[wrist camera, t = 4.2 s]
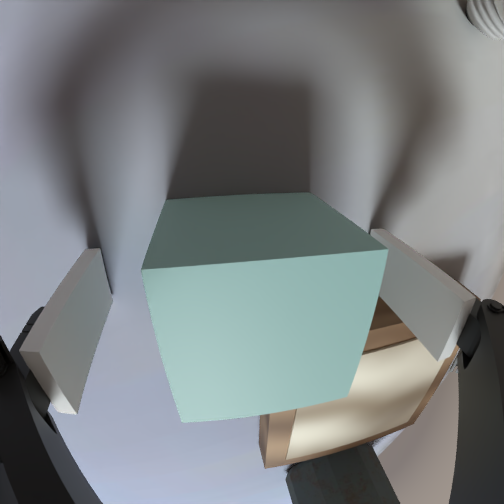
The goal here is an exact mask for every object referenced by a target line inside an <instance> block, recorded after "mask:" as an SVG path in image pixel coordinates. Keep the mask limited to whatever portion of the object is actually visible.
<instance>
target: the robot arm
mask: <svg viewBox="0 0 504 504" xmlns="http://www.w3.org/2000/svg"><path fill="white" fill-rule="evenodd" d="M370 235H371V236H372V237H373V238H375V239H376V240H377V241H379V242H380V243H381V244H383V245H384V246H385V247H387V248H388V249H389V250H388V255H387V260H386V265H385V270H384V274H383V279H382V283H381V287H380V291H379V296H380V297H381V298H382V299H383V300H384V302H385V303H386V304H387V305H388V306H389V307H390V308H391V309H392V310H393V311H394V313H395V314H396V315H397V316H398V317H399V318H400V319H401V320H402V321H403V323H404V324H405V325H406V326H407V327H408V328H409V329H410V330H411V332H412V333H413V334H414V335H415V336H416V337H417V338H418V340H419V341H420V342H421V343H422V344H423V345H424V347H425V348H426V349H427V350H428V351H429V352H430V354H431V355H432V356H433V357H434V358H435V360H436V361H437V362H439V361H441V360H443V359H446V358H448V357H450V356H451V354H452V352H453V350H454V348H455V346H456V344H457V345H458V346H459V348H460V351H459V353H458V355H457V357H456V359H455V361H454V362H453V364H452V366H451V368H450V372H452V371H453V369H454V368H455V366H458V368H457V370H456V373H458V382H459V420H458V439H457V452H456V461H455V470H454V477H453V483H452V490H451V495H450V500H449V504H504V306H503V305H502V304H501V303H499V302H497V301H495V300H492V299H485V300H483V301H482V302H481V301H480V300H479V299H477V298H476V297H475V296H474V295H473V294H471V293H470V292H469V291H468V290H466V289H465V288H464V287H463V286H461V285H460V284H459V283H458V282H456V281H455V280H454V279H453V278H451V277H450V276H449V275H447V274H446V273H445V272H444V271H442V270H441V269H440V268H438V267H437V266H436V265H434V264H433V263H432V262H430V261H429V260H428V259H426V258H425V257H423V256H422V255H421V254H419V253H418V252H417V251H415V250H414V249H412V248H411V247H410V246H408V245H407V244H405V243H404V242H402V241H401V240H400V239H398V238H397V237H395V236H394V235H392V234H391V233H389V232H388V231H386V230H385V229H371V233H370ZM112 303H113V299H112V295H111V291H110V288H109V284H108V280H107V276H106V272H105V268H104V263H103V259H102V254H101V250H100V248H96V249H85V250H84V252H83V253H82V254H81V256H80V257H79V258H78V260H77V261H76V262H75V264H74V265H73V266H72V268H71V269H70V271H69V272H68V273H67V275H66V276H65V278H64V279H63V280H62V282H61V283H60V285H59V286H58V288H57V289H56V291H55V292H54V294H53V295H52V297H51V298H50V300H49V301H48V303H47V304H46V306H45V307H40V308H39V309H38V310H37V311H36V312H35V313H33V314H32V316H31V317H30V319H29V320H28V322H27V323H26V324H27V325H25V327H24V328H23V330H22V333H20V335H19V336H18V338H17V340H16V342H15V343H14V345H13V347H12V348H11V350H10V352H9V350H8V348H7V347H6V345H5V343H4V341H3V339H2V337H1V336H0V504H103V503H102V502H101V501H100V499H99V498H98V496H97V495H96V493H95V492H94V490H93V489H92V488H91V486H90V485H89V483H88V481H87V480H86V478H85V477H84V475H83V474H82V472H81V470H80V469H79V467H78V465H77V464H76V462H75V460H74V458H73V457H72V455H71V453H70V451H69V450H68V448H67V446H66V444H65V442H64V440H63V438H62V436H61V434H60V432H59V430H58V428H57V426H56V424H55V422H54V420H53V418H52V416H51V415H50V413H49V412H48V411H47V410H48V407H49V404H50V402H51V403H52V404H53V406H54V407H55V409H56V410H57V411H58V412H60V413H68V414H76V415H77V414H78V410H79V406H80V402H81V398H82V394H83V391H84V387H85V383H86V380H87V377H88V373H89V370H90V367H91V363H92V360H93V357H94V354H95V351H96V348H97V345H98V342H99V339H100V336H101V333H102V330H103V327H104V324H105V322H106V319H107V316H108V313H109V311H110V308H111V305H112Z"/></svg>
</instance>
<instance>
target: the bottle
mask: <svg viewBox="0 0 504 504" xmlns="http://www.w3.org/2000/svg"><path fill="white" fill-rule="evenodd" d="M286 483H287V486H288V490H289V493H290V496H291V500H292V503H293V504H400V502H399V500H398V499H397V496H396V494H395V492H394V490H393V488H392V486H391V484H390V482H389V480H388V478H387V476H386V474H385V471H384V470H383V467H382V466H381V464H380V461H379V459H378V457H377V455H376V453H375V451H374V449H373V447H372V446H370V445H368V444H366V443H364V444H361V445H358V446H355V447H352V448H349V449H346V450H343V451H339V452H336V453H333V454H329V455H325V456H322V457H318V458H314V459H310V460H306V461H301V462H299V463H298V464H296V465H295V466H293V467H292V468H291V469H290V470H289V472H288V474H287V477H286Z"/></svg>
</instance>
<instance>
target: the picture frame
mask: <svg viewBox="0 0 504 504" xmlns="http://www.w3.org/2000/svg"><path fill="white" fill-rule="evenodd" d="M456 282H458V283H459V284H460V285H461V286H463V287H464V288H465V289H466V290H468V291H469V292H470V293H471V294H473V293H472V292H471V291H470V290H469V289H467V288H466V287H465V286H464V285H462V284H461V283H460V282H459V281H456ZM473 295H474V296H475V297H476V298H477V299H479V298H478V297H477V296H476V295H475V294H473ZM479 300H481V299H479ZM458 349H459V346H458V345H457V344H456V346H455V348H454V350H453V352H452V354H451V356H450V357H448V358H446V359H443V360H441V361H439V362H437V361H436V360H435V358H434V357H433V356H432V355H431V354H430V352H429V351H428V350H427V349H426V348H425V347H424V345H423V344H422V343H421V342H420V341H419V340H418V338H417V337H416V336H415V335H414V334H413V333H412V332H411V330H410V329H409V328H408V327H407V326H406V325H405V324H404V323H403V321H402V320H401V319H400V318H399V317H398V316H397V315H396V314H395V313H394V311H393V310H392V309H391V308H390V307H389V306H388V305H387V304H386V303H385V302H384V300H383V299H382V298H381V297H378V300H377V304H376V307H375V311H374V315H373V319H372V322H371V326H370V329H369V333H368V336H367V340H366V343H365V346H364V349H363V353H362V356H361V359H360V362H359V365H358V368H357V371H356V374H355V377H354V380H353V382H352V385H351V388H350V391H349V393H348V396H347V397H345V398H341V399H337V400H333V401H329V402H325V403H321V404H316V405H312V406H307V407H303V408H298V409H293V410H287V411H282V412H276V413H270V414H264V415H260V429H259V446H260V451H261V455H262V459H263V463H264V467H265V469H266V468H272V467H277V466H283V465H288V464H292V463H297V462H301V461H306V460H310V459H314V458H318V457H322V456H325V455H329V454H333V453H336V452H339V451H343V450H346V449H349V448H352V447H355V446H358V445H361V444H364V443H367V442H370V441H373V440H375V439H378V438H381V437H383V436H386V435H388V434H391V433H393V432H396V431H398V430H401V429H403V428H405V427H407V426H410V425H412V424H414V422H415V421H416V419H417V418H418V417H419V415H420V414H421V412H422V411H423V409H424V408H425V406H426V405H427V403H428V402H429V400H430V398H431V397H432V395H433V394H434V392H435V390H436V389H437V387H438V385H439V384H440V382H441V380H442V379H443V377H444V375H445V373H446V372H447V370H448V368H449V366H450V364H451V363H452V361H453V359H454V357H455V355H456V353H457V351H458Z"/></svg>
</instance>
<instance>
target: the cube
mask: <svg viewBox="0 0 504 504" xmlns="http://www.w3.org/2000/svg"><path fill="white" fill-rule="evenodd" d="M388 250H389V249H388V248H387V247H385V246H384V245H383V244H381V243H380V242H379V241H377V240H376V239H375V238H373V237H372V236H371V235H369V234H368V233H367V232H365V231H364V230H363V229H361V228H360V227H359V226H357V225H356V224H355V223H353V222H352V221H350V220H349V219H348V218H346V217H345V216H343V215H342V214H341V213H339V212H338V211H336V210H335V209H333V208H332V207H331V206H329V205H328V204H326V203H325V202H323V201H322V200H320V199H319V198H318V197H316V196H315V195H313V194H312V193H310V192H307V193H270V194H246V195H227V196H210V197H196V198H182V199H170V200H166V201H165V204H164V206H163V209H162V212H161V214H160V217H159V219H158V222H157V225H156V228H155V230H154V233H153V236H152V239H151V242H150V244H149V247H148V250H147V253H146V256H145V259H144V262H143V265H142V268H141V273H142V278H143V283H144V288H145V293H146V297H147V302H148V306H149V311H150V315H151V319H152V323H153V327H154V331H155V335H156V339H157V343H158V347H159V350H160V354H161V358H162V361H163V365H164V368H165V372H166V375H167V378H168V381H169V385H170V388H171V391H172V394H173V397H174V400H175V403H176V406H177V409H178V412H179V415H180V418H181V421H182V423H187V422H203V421H215V420H226V419H235V418H243V417H250V416H258V415H264V414H270V413H276V412H282V411H287V410H293V409H298V408H303V407H307V406H312V405H316V404H321V403H325V402H329V401H333V400H337V399H341V398H345V397H347V396H348V393H349V391H350V388H351V385H352V382H353V380H354V377H355V374H356V371H357V368H358V365H359V362H360V359H361V356H362V353H363V349H364V346H365V343H366V340H367V336H368V333H369V329H370V326H371V322H372V319H373V315H374V311H375V307H376V304H377V300H378V296H379V291H380V287H381V283H382V279H383V274H384V270H385V265H386V260H387V255H388Z"/></svg>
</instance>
